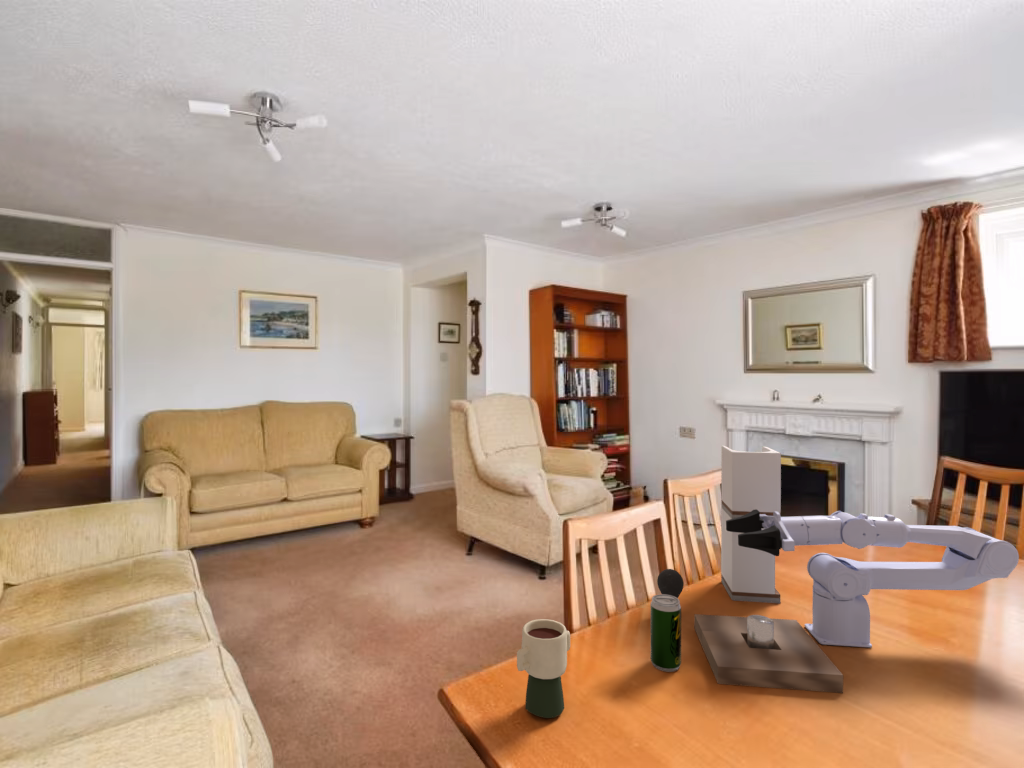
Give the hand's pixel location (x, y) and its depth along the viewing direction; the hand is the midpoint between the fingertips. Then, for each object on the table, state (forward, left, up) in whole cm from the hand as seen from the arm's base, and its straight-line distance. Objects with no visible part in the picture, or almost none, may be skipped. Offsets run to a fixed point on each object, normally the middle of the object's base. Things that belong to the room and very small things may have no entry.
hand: (732, 532), depth 108 cm
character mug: (+36, +30, -21) cm, 52 cm away
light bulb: (+11, -7, -21) cm, 25 cm away
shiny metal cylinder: (-3, +9, -21) cm, 23 cm away
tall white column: (-10, -22, -21) cm, 32 cm away
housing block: (-3, +9, -21) cm, 23 cm away
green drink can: (+15, +14, -21) cm, 29 cm away
